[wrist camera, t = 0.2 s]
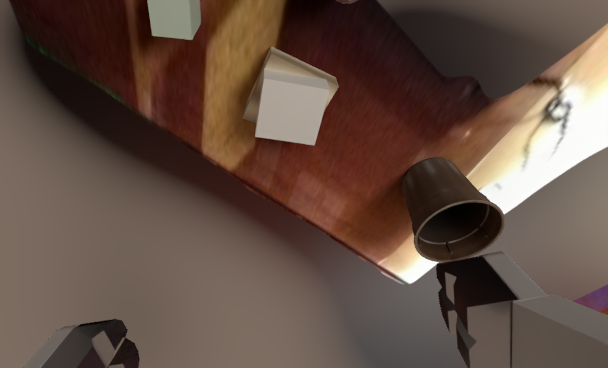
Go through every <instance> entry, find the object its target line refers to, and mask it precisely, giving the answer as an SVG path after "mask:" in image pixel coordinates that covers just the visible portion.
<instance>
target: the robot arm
mask: <svg viewBox="0 0 608 368" xmlns="http://www.w3.org/2000/svg"><path fill="white" fill-rule="evenodd" d="M436 272H437V273H436V274H437V279H438V281H439V283H440V284H441V286H442V288H441V289H440V291H439V292H438V295H439V304H440V308H441V312H442V316H443V318H444V321H445V324H446V326H447V328H448V330H449V332H450V333H451V334H453V335H454V336H456V337H457V345H458V346H457V347H458V350H459V352H460V354H461V356H462V358H463V360H464V362H465V364H466V366H467V367H468V368H608V316H607V315H605V314H602V313H600V312H597V311H595V310H592V309H590V308H587V307H585V306H582V305H580V304H577V303H575V302H572V301H569V300H567V299H564V298H562V297H559V296H557V295H548V296H547V295H546V294H545V293H544V292H543V291H542V290H541V289H540V288H539V287H538V286H537V285H536V284H535V283H534V282H533V281H532V280H531V279H530V278H529V277H528V276H527V275H526V274H525V273H524V272H523V270H522V269H521V268H520V267H518V265H517V264H516V263H515V262H514V261H513V260H512V259H511V258H510V257H509V256H508V255H507V254H506V253H504V252H502V251H499V252H494V253H489V254H484V255H480V256H478V257H472V258H466V259H461V260H455V261H449V262H444V263H438V264H437V267H436ZM126 334H127V328H126V326H125V325H124V323H123V321H122V320H117V319H112V320H105V321H98V322H91V323H85V324H80V325H73V326H66V327H63V328H61V329H58V330H56V331H55V332H54V333H53V335H52V336H51V337H50V338H49V339H48V340H47V341H46V342H45V344H44V345H43V346H42V347H41V348H40V349H39V350H38V351H37V353H36V354H35V355H34V356H33V357H32V358H31V359H30V361H29V362H28V363H27V364H26V365H25V366H24V367H23V368H138V366H139V353H138V349H137V347H136V345H135V343H134V342H132V341H130V340H129V339H127V338H126Z"/></svg>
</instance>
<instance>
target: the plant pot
mask: <svg viewBox="0 0 608 368" xmlns="http://www.w3.org/2000/svg"><path fill="white" fill-rule="evenodd" d="M402 191H403V194H404V197H405V200H406V203H407V207H408V210H409V213H410V217H411V220H412V229H413V233H414V245H415V248H416V250H417V251H418V253H419V254H420V255H421V256H422V257H424V258H426V259H428V260H431V261H436V262H449V261H455V260H461V259H466V258H469V257H471V256H474V255H476V254H478V253H480V252H482V251H483V250H485V249H486V248H488V247H489V246H490V245H492V244H493V243H494V242H495V241H496V240H497V238H498V237H499V236H500V235H501V233H502V231H503V229H504V225H505V217H504V214H503V212H502V210H501V209H500V208H499V207H498V206H497V205H496V204H494V203H492V202H490V201H489V200H488V199H487V197H486V196H484V195H483V194H482V193H480V192H479V191H478V190H477V189H476V188H475V187H474V186H473V185H472V184H471V182H470V181H469V180H468V179H467V178H466V177H465V176H464V175H463V174H462V172H461V171H460V170H459V169H458V168H457V167H456V166H455V164H454V163H452V162H451V161H448V160H445V159H443V158H430V159H426V160H423V161H421V162H419V163H417V164H415V165H414V166H412V167H411V168H410V169H409V170H408V173H407V174H406V176H405V177H403V180H402Z"/></svg>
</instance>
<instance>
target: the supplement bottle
mask: <svg viewBox="0 0 608 368" xmlns="http://www.w3.org/2000/svg"><path fill="white" fill-rule="evenodd" d="M336 1H338V2H340V3H344V4H348V3H353V2H356V1H358V0H336Z"/></svg>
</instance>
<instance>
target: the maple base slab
mask: <svg viewBox="0 0 608 368" xmlns="http://www.w3.org/2000/svg"><path fill="white" fill-rule="evenodd" d="M264 68H266V69H271V70H277V71H282V72H288V73H293V74H299V75H304V76H310V77H315V78H321V79H326V80H327V83H328V86H329V89H330V91H329V95H328V98H327V102H326V106H325V109H326V107H327V105H328V104H329V102H330V100H331V99H332V97H333V95H334V94H335V92H336V90H337V89H338V87H339V85H338V82H337V80H336V77H334V76H332V75H329V74H327V73H325V72H323V71H321V70H319V69H317V68H315V67H313V66H311V65H309V64H307V63H305V62H303V61H301V60H298V59H296V58H294V57H292V56H290V55H288V54H286V53H284V52H282V51H280V50H278V49H276V48H274V47H272V46H271V47H270V50H269V52H268V54H267V56H266V59H265V61H264V63H263V66H262V68H261V70H260V72H259V75H258V77H257V79H256V82H255V84H254V86H253V88H252V91H251V93H250V95H249V97H248V100H247V102H246V104H245V107H244V110H243V119H245V120H248V121H250V122H253V123H256V120H257V114H258V107H259V100H260V93H261V87H262V80H263V73H264ZM325 109H324V110H325Z"/></svg>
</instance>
